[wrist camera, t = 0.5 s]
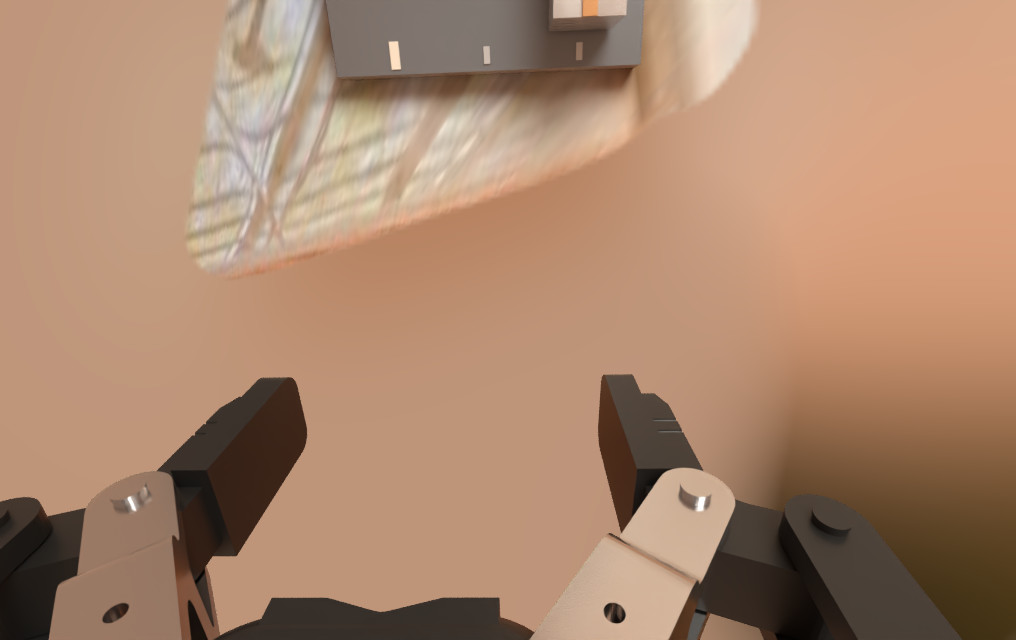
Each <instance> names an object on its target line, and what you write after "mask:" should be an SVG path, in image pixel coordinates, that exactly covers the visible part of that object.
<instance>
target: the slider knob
mask: <svg viewBox="0 0 1016 640" xmlns="http://www.w3.org/2000/svg"><path fill="white" fill-rule="evenodd" d="M626 8H627V0H549V32H552V31H574V30H597V29H613V28H614V27H615V26H616V25H617V24H618V23H619V22H620V21H621V20H622V19H623V18H624V17H625V16H626Z"/></svg>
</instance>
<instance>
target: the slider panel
mask: <svg viewBox="0 0 1016 640" xmlns="http://www.w3.org/2000/svg"><path fill="white" fill-rule="evenodd" d="M326 6H327V12H328V19H329V25H330V32H331V38H332V45H333V51H334V57H335V64H336V70H337V77H338V78H342V79H346V80H358V79H382V78H405V77H429V76H452V75H476V74H499V73H523V72H546V71H570V70H594V69H617V68H634V67H636V66H638V65H640V62H641V46H642V30H643V14H644V0H627V8H626V16H625V17H624V18H623V19H622V20H621V21H620V22H619V23H618V24H617V25H616V26H615V27H614V28H613V29H597V30H574V31H552V32H549V0H326Z"/></svg>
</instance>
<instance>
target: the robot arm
mask: <svg viewBox="0 0 1016 640" xmlns="http://www.w3.org/2000/svg"><path fill="white" fill-rule="evenodd" d="M598 437H599V446H600V451H601V455H602V459H603V463H604V467H605V471H606V475H607V479H608V483H609V487H610V491H611V495H612V499H613V503H614V507H615V510H616V514H617V518H618V522H619V526H620V530H621V535H620V536H619V537H617V536H615V535H613V534H611V533H609V534H607V535H606V536H605V537H604V538H603V539H602V540H601V541H600V543H599V544H598V545H597V547H596V548H595V549H594V551H593V552H592V554H591V555H590V556H589V558H588V559H587V560H586V562H585V563H584V565H583V566H582V567H581V569H580V570H579V572H578V573H577V574H576V576H575V577H574V579H573V580H572V581H571V583H570V584H569V586H568V587H567V588H566V590H565V591H564V593H563V594H562V595H561V597H560V598H559V599H558V601H557V602H556V604H555V605H554V606H553V608H552V609H551V611H550V612H549V614H548V615H547V616H546V618H545V619H544V620H543V622H542V623H541V624H540V626H539V627H538V629H537V630H536V631H535V632H533V631H531V630H530V629H528V628H526V627H525V626H523V625H520V624H518V623H516V622H513V621H511V620H508V619H504V618H501V617H500V603H499V602H500V601H499V598H440V599H436V600H432V601H428V602H424V603H419V604H415V605H411V606H407V607H403V608H399V609H395V610H391V611H386V612H377V611H372V610H368V609H365V608H362V607H358V606H354V605H351V604H347V603H344V602H340V601H336V600H333V599H329V598H272V599H271V601H270V603H269V605H268V607H267V609H266V611H265V613H264V615H263V617H262V619H260V620H256V621H253V622H250V623H247V624H245V625H242V626H239V627H237V628H235V629H233V630H230V631H228V632H226V633H224V634H222V635H220V632H219V626H218V620H217V614H216V609H215V603H214V597H213V591H212V586H211V580H210V575H209V572H208V570H207V567H206V565H207V564H208V562H209V561H210V559H211V558H212V556H237V555H238V553H239V552H240V550H241V548H242V547H243V545H244V544H245V542H246V540H247V539H248V537H249V535H250V534H251V532H252V531H253V529H254V528H255V526H256V525H257V523H258V521H259V520H260V518H261V517H262V515H263V513H264V512H265V510H266V509H267V507H268V506H269V504H270V502H271V501H272V499H273V498H274V496H275V495H276V493H277V491H278V490H279V488H280V487H281V485H282V483H283V482H284V480H285V478H286V477H287V476H288V474H289V472H290V471H291V469H292V468H293V466H294V464H295V463H296V461H297V460H298V458H299V457H300V455H301V453H302V452H303V450H304V447H305V444H306V439H307V427H306V422H305V418H304V413H303V410H302V405H301V400H300V396H299V392H298V387H297V384H296V382H295V380H294V379H293V378H289V377H287V378H260V379H259V380H258V381H257V382H256V383H255V384H254V385H253V386H252V387H251V388H250V389H249V390H248V391H247V392H246V393H245V394H244V395H243V396H242V397H238V398H236V399H235V400H233V401H232V402H230V403H228V404H226V405H225V406H223V407H221V408H220V409H219V410H218V411H217V412H216V413H215V414H214V415H213V416H212V417H210V418H209V420H207V422H206V424H203V425H202V426H201V428H200V429H198V430H197V431H196V432H195V436H191V437H190V438H189V439H188V441H186V442H185V444H183V445H182V446H181V447H180V448H179V449H178V450H177V451H176V452H175V453H174V454H173V455H172V456H171V457H170V458H169V459H168V460H167V461H166V462H165V463H164V464H163V465H162V466H161V467H160V468H159V469H158V470H157V471H153V472H144V473H140V474H136V475H133V476H130V477H127V478H125V479H122V480H120V481H118V482H116V483H114V484H112V485H110V486H109V487H107V488H106V489H104V490H103V491H101V492H100V493H99V494H97V495H96V496H95V497H94V498H93V499H92V500H91V502H90V503H89V504H88V506H87V507H86V508H84V509H79V510H75V511H70V512H66V513H61V514H57V515H52V516H48V517H47V515H46V513H45V511H44V509H43V507H42V506H41V504H40V502H39V501H38V500H37V499H35V498H30V497H29V498H28V497H23V498H14V499H9V500H6V501H2V502H0V640H700V638H701V635H702V633H703V631H704V628H705V626H706V623H707V621H708V618H709V616H710V613H712V614H715V615H718V616H721V617H725V618H728V619H731V620H734V621H738V622H741V623H744V624H748V625H751V626H754V627H757V628H759V629H760V631H761V634H762V636H763V638H764V640H962V639H961V638H960V636H959V635H958V634H957V633H956V631H955V630H954V629H953V628H952V626H951V625H950V624H949V623H948V621H947V620H946V619H945V618H944V616H943V615H942V614H941V612H940V611H939V610H938V609H937V607H936V606H935V605H934V604H933V602H932V601H931V600H930V599H929V597H928V596H927V595H926V594H925V592H924V591H923V590H922V589H921V587H920V586H919V585H918V583H917V582H916V581H915V580H914V578H913V577H912V576H911V575H910V573H909V572H908V571H907V570H906V568H905V567H904V566H903V564H902V563H901V562H900V561H899V559H898V558H897V557H896V556H895V554H894V553H893V552H892V550H891V549H890V548H889V547H888V546H887V544H886V543H885V542H884V540H883V539H882V538H881V537H880V535H879V534H878V533H877V532H876V530H875V529H874V528H873V526H872V525H871V524H870V523H869V522H868V521H867V520H866V519H865V518H864V517H863V516H862V515H860V514H859V513H858V512H856V511H855V510H853V509H852V508H850V507H848V506H847V505H845V504H843V503H841V502H838V501H836V500H833V499H830V498H827V497H823V496H818V495H798V496H795V497H793V498H791V499H790V500H789V501H788V502H787V503H786V505H785V508H784V512H781V511H776V510H772V509H767V508H763V507H759V506H755V505H750V504H747V503H743V502H741V501H738V500H736V499H734V495H733V494H732V492H731V491H730V489H729V488H728V486H727V485H725V484H724V483H723V482H722V481H721V480H719V479H718V478H717V477H715V476H713V475H711V474H709V473H707V472H704V471H703V469H702V467H701V465H700V463H699V461H698V460H697V458H696V456H695V454H694V452H693V450H692V448H691V446H690V445H689V443H688V441H687V439H686V437H685V435H684V433H682V429H681V428H680V426H679V424H678V422H677V421H676V418H675V416H674V414H673V413H672V410H671V409H670V407H669V405H668V404H667V403H665V402H664V401H663V400H662V399H660V398H659V397H658V396H657V395H655V394H641V392H640V390H639V387H638V385H637V383H636V381H635V379H634V376H633V375H603V376H602V380H601V393H600V407H599V423H598Z"/></svg>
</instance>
